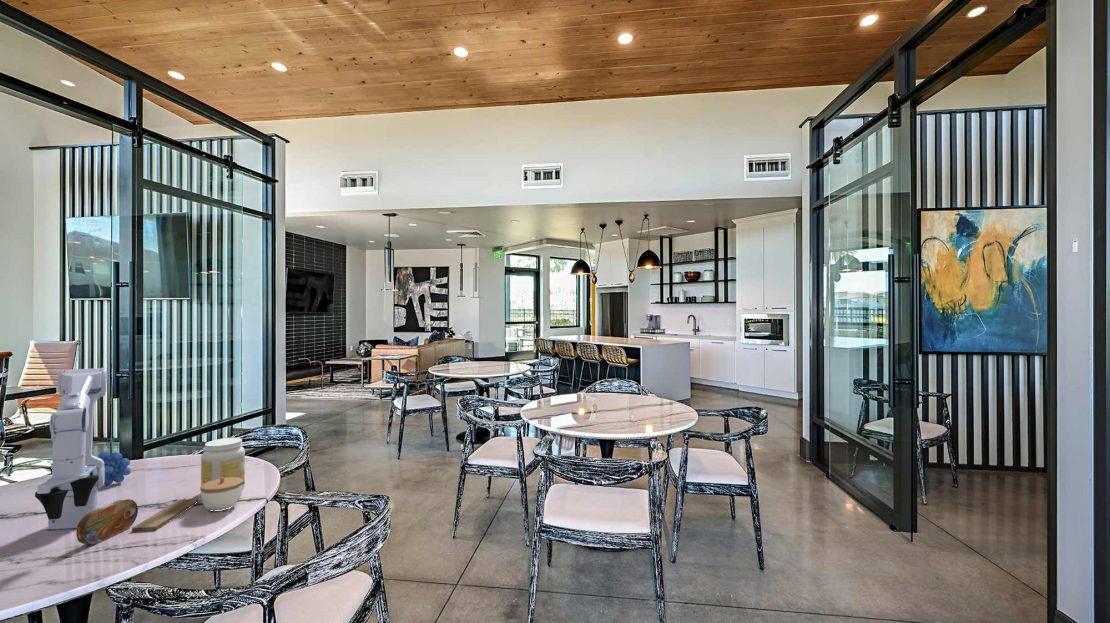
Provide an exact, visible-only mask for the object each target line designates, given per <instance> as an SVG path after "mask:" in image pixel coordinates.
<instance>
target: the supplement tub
mask: <svg viewBox="0 0 1110 623" xmlns="http://www.w3.org/2000/svg"><path fill="white" fill-rule="evenodd" d="M203 449H204V452H203V453H202V454H201V457H200V469H201V470H200V486H201V485H203V484H204V483H206V482H209V481H212V480H216V479H220V478H221V477H224V478H229V477H236V478H241V479H242V480H243V483H242V489H244V487H245V484H246V482H245V481H246V480H245V478H246V477H245V476H246V472H245V471H246V470H245V469H246V463H245V462H246V450H245V448H244V447H243V438H239V437H225V438H218V439H214V440H211V441H207V442H205V444H204V448H203Z"/></svg>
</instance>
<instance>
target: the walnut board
mask: <svg viewBox="0 0 1110 623" xmlns="http://www.w3.org/2000/svg"><path fill="white" fill-rule="evenodd" d="M198 501H199V502H200V498H192V499H189V498H188V499H177V500H176V501H174V502H173V503H171V504H169V505H168V506H166V507H164V508H162V509H161V510H160V511H158V512H156V513H155V514H153V515H151V516H150V517H148V518H146V519H145V520H143V521H142V522H139V523H138V524H136V525H135V526H133V527H132V528H131V532H132V533H133V532H148V531H149V532H151V531H152V532H153V531H158V530H159V529H161V528H162V527H164V526H165V525H167V524H168V523H170V522H171V521H173V520H174V519H176V518H177V517H178V516H177V515H179V514H180V513H181V512H183V511H185V510H186V509H188V508H189V507H190V506H192V505H194V504H195V503H196V502H198ZM199 502H198V503H199ZM195 505H196V504H195ZM195 505H194V506H195ZM192 507H193V506H192ZM189 509H190V508H189ZM189 509H188V510H189ZM186 511H187V510H186ZM186 511H185V512H186ZM183 513H184V512H183ZM180 515H181V514H180ZM180 515H179V516H180ZM176 516H177V517H176ZM175 517H176V518H175ZM173 518H174V519H173ZM172 519H173V520H172ZM170 520H171V521H170ZM169 521H170V522H169ZM166 523H167V524H166ZM163 525H164V526H163Z"/></svg>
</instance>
